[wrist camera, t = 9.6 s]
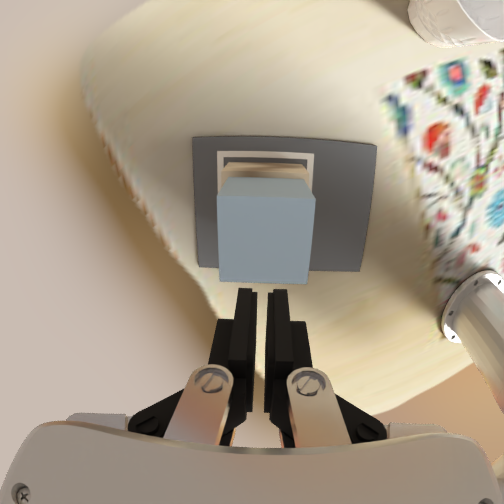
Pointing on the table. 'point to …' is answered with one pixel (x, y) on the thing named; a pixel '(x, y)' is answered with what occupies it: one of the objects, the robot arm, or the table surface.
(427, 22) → the white cup
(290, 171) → the base block
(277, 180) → the blue block
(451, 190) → the table surface
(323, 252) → the mat
